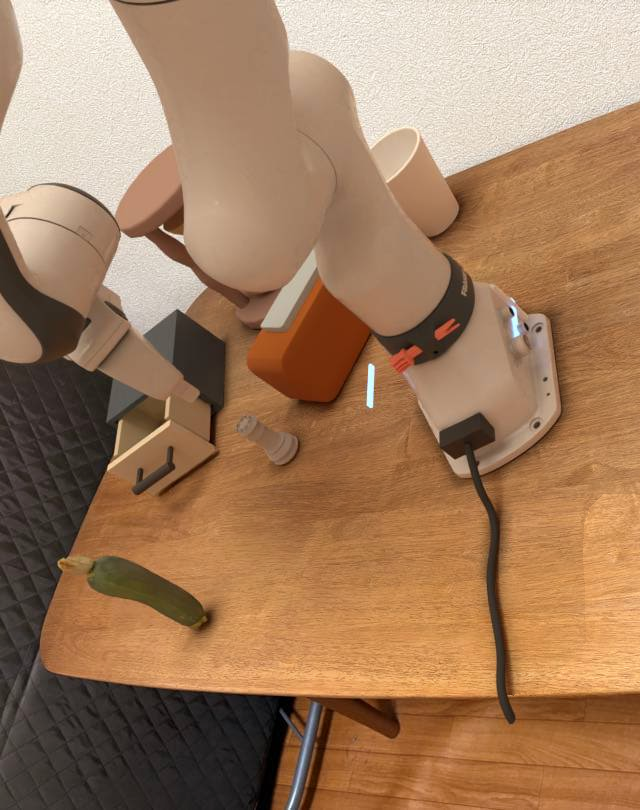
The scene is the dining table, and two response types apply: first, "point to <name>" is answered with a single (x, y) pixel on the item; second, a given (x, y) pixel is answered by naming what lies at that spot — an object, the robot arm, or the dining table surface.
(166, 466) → the drawer
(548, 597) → the dining table surface
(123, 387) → the cabinet
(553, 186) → the dining table surface
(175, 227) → the hourglass
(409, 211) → the cup
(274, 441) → the rook chess piece
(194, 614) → the vegetable
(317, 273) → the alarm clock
